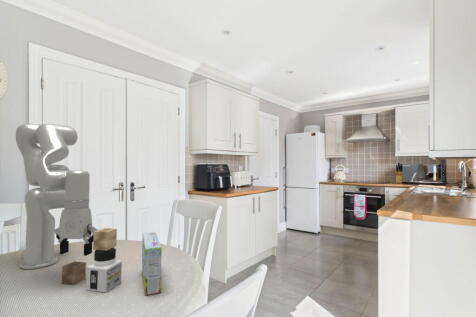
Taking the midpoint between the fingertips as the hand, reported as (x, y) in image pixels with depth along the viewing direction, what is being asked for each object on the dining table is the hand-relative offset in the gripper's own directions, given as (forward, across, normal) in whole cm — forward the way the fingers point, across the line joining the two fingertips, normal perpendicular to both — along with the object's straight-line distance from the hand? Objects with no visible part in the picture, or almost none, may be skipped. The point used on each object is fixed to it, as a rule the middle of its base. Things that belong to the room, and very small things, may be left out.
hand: (75, 253), depth 90 cm
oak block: (-3, +12, -1) cm, 13 cm away
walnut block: (+10, -1, 0) cm, 10 cm away
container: (+10, +12, 0) cm, 16 cm away
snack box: (+11, +25, +6) cm, 28 cm away
